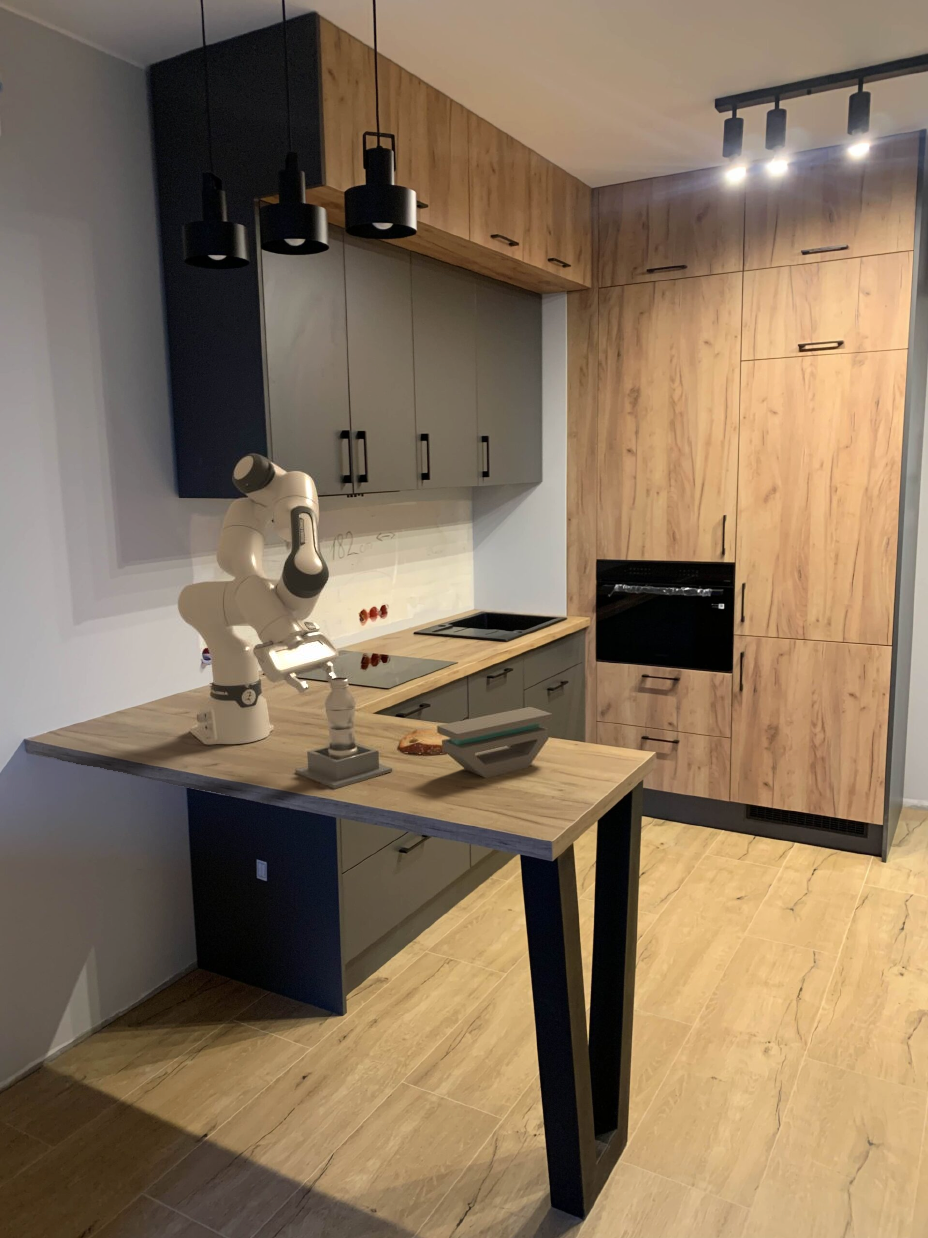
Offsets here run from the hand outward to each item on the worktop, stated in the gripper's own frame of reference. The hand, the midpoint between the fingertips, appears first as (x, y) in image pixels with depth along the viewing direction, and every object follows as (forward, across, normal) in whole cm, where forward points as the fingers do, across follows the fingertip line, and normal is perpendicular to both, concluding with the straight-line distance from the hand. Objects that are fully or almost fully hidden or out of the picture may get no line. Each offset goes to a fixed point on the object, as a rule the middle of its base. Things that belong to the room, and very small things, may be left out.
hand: (319, 686), depth 202 cm
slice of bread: (+23, +28, +5) cm, 36 cm away
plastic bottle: (+17, 0, +9) cm, 19 cm away
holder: (+17, 0, +10) cm, 19 cm away
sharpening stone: (+37, +19, -10) cm, 42 cm away
